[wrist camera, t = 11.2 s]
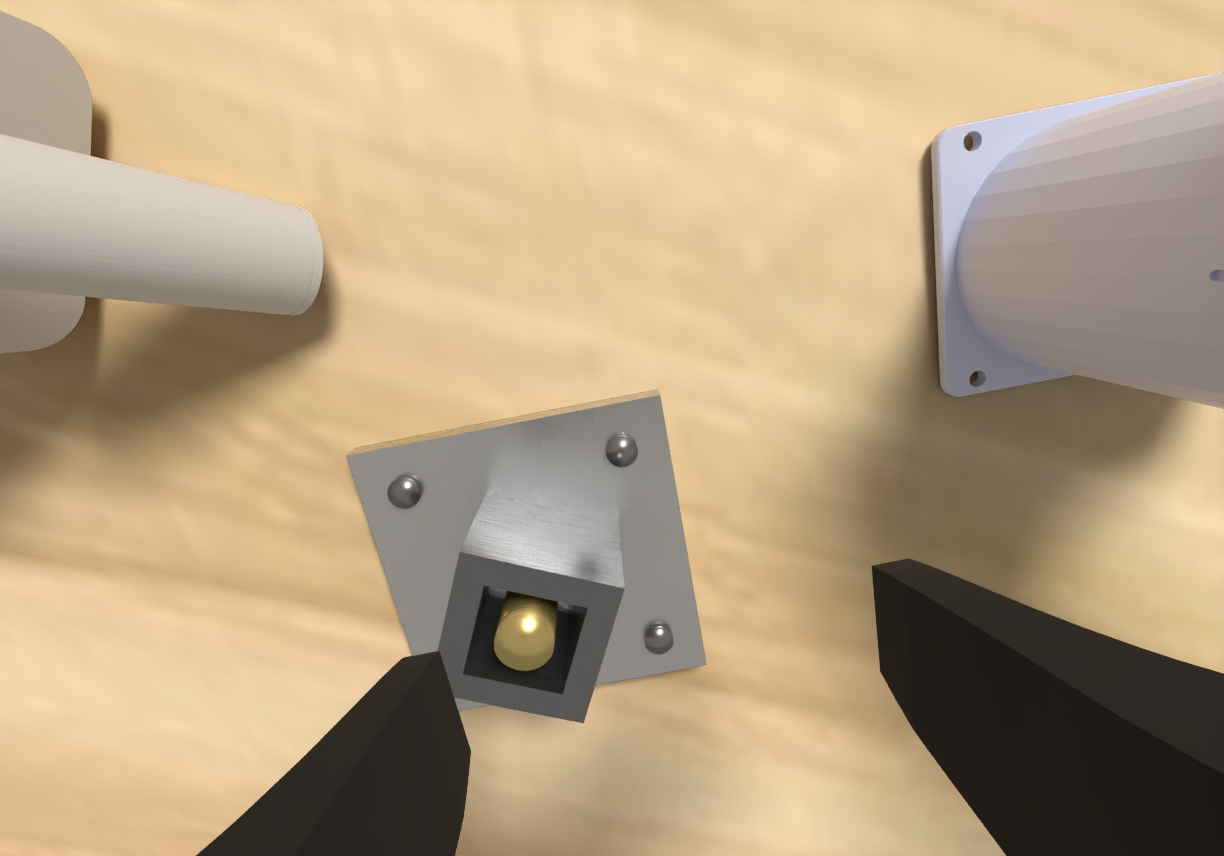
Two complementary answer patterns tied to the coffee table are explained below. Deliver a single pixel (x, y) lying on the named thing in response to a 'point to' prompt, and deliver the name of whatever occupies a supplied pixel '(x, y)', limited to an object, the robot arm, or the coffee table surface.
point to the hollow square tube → (542, 567)
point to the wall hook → (121, 216)
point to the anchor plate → (550, 477)
